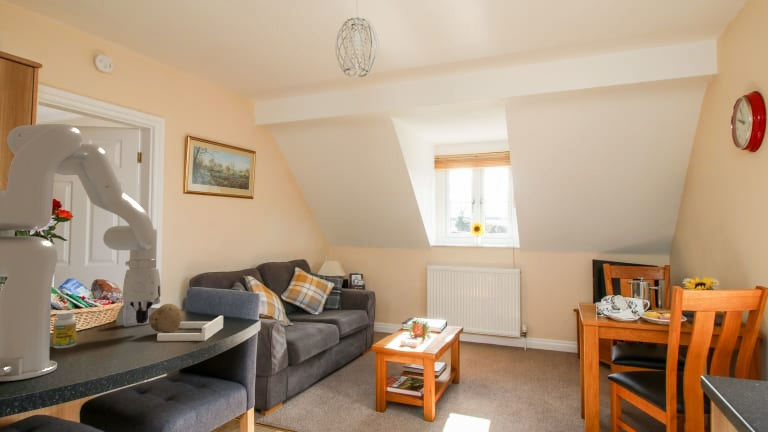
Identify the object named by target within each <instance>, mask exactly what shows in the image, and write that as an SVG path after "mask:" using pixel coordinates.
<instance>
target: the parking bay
mask: <svg viewBox="0 0 768 432" xmlns="http://www.w3.org/2000/svg"><path fill="white" fill-rule="evenodd" d="M223 328H224V315H218V317H216V318H214V319H212V320H211V321H181V323H180V325H179V329H201V332H189V333H188V332H187V333H184V332H183V333H182V332H180V333H177V332H173V333H163V332H161V333H158V334H157V336H156V341H157V342H183V341H185V342H189V341H191V342H192V341H198V342H200V341H202V342H203V341H204V342H205V341H207V340H208V339H209V338H211V337H212V336H213V335H214V334H216V333H218V332H219V331H220V330H222V329H223Z"/></svg>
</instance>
